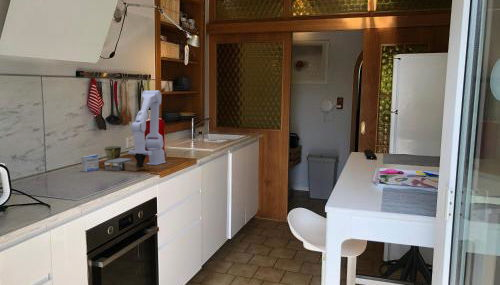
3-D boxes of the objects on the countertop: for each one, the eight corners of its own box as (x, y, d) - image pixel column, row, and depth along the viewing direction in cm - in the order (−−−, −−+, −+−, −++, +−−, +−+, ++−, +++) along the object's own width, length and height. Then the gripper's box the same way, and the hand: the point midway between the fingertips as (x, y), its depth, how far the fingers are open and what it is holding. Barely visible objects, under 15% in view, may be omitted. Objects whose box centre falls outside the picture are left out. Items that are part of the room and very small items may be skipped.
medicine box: (86, 172, 238) (85, 156, 237) (82, 171, 241) (80, 156, 239) (99, 169, 244) (97, 154, 243) (94, 168, 247) (93, 154, 246)
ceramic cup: (104, 162, 267) (103, 146, 266) (120, 160, 271) (119, 145, 270) (106, 165, 255) (105, 149, 254) (124, 164, 260) (122, 147, 258)
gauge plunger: (122, 165, 251) (121, 158, 251) (133, 166, 247) (133, 159, 247) (107, 169, 241) (107, 162, 240) (119, 170, 237) (119, 163, 236)
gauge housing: (119, 165, 254) (119, 157, 253) (133, 166, 249) (132, 158, 249) (104, 169, 243) (104, 161, 242) (118, 170, 238) (117, 162, 238)
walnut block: (130, 168, 245) (130, 161, 245) (141, 169, 242) (141, 162, 241) (124, 169, 241) (124, 163, 240) (135, 170, 237) (135, 163, 237)
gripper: (124, 143, 237) (126, 167, 239) (145, 144, 231) (146, 169, 233) (132, 142, 243) (134, 165, 245) (153, 142, 237) (154, 166, 239)
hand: (141, 167), depth 239 cm, fingers closed
